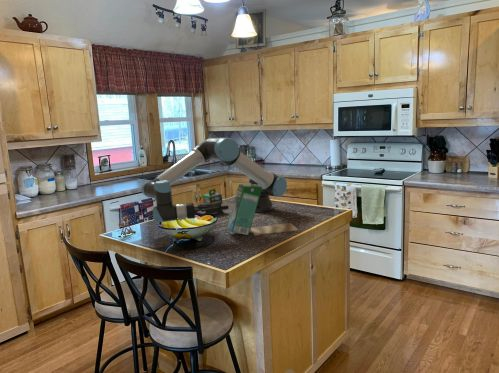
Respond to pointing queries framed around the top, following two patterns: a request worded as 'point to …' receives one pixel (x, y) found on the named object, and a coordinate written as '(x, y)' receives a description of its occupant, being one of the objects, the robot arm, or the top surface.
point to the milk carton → (244, 208)
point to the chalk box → (212, 199)
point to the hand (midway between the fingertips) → (234, 206)
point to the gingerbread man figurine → (126, 225)
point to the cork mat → (273, 229)
